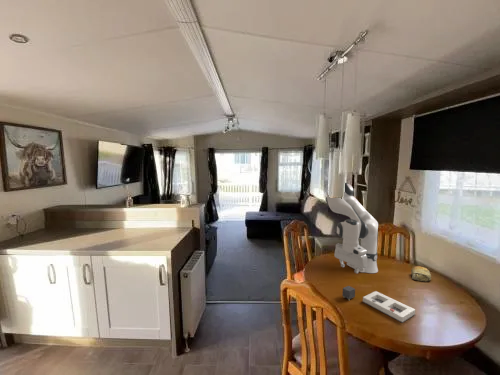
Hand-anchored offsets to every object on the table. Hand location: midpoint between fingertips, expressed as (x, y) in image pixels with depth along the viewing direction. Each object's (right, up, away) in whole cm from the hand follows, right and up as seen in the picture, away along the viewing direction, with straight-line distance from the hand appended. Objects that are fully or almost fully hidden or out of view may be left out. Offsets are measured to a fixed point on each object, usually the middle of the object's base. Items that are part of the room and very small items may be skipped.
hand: (349, 269), depth 144 cm
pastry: (+62, -16, +28) cm, 69 cm away
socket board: (+18, -19, -8) cm, 27 cm away
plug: (0, -18, +2) cm, 18 cm away
